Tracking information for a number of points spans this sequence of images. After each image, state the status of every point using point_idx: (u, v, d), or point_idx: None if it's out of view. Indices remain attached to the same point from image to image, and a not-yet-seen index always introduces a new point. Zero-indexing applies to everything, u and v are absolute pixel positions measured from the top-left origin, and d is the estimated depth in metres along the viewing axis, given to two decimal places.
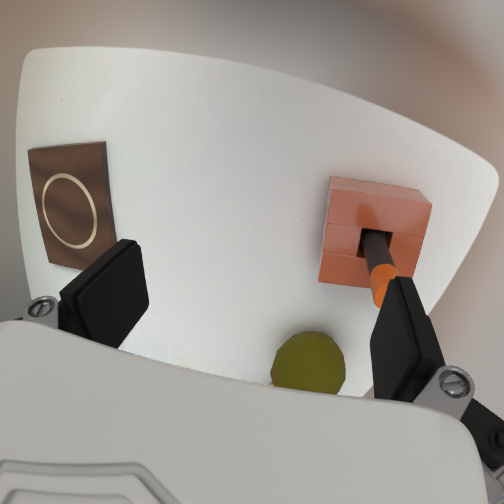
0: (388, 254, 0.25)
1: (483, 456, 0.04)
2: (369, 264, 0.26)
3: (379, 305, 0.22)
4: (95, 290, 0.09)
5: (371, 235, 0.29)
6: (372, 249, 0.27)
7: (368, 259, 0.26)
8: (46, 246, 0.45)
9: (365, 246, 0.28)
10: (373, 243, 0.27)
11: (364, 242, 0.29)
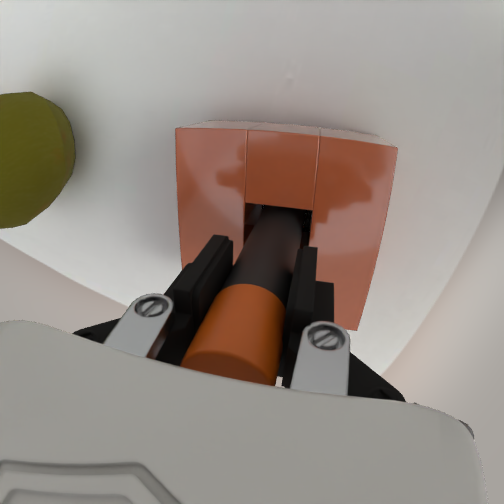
0: None
1: None
2: (264, 262, 0.11)
3: (191, 364, 0.07)
4: (207, 286, 0.09)
5: (298, 233, 0.15)
6: (289, 255, 0.12)
7: (270, 253, 0.11)
8: None
9: (280, 226, 0.14)
10: (294, 247, 0.13)
11: (282, 219, 0.14)
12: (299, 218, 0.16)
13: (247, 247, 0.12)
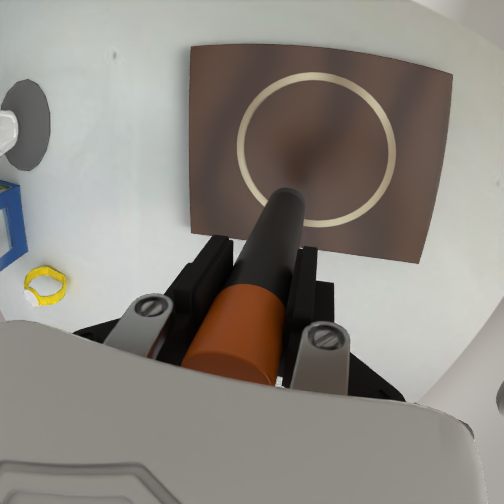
0: None
1: None
2: (264, 263, 0.11)
3: (191, 363, 0.07)
4: (207, 286, 0.09)
5: (298, 233, 0.15)
6: (289, 255, 0.12)
7: (270, 253, 0.11)
8: (231, 50, 0.20)
9: (280, 227, 0.14)
10: (294, 248, 0.13)
11: (282, 219, 0.14)
12: (299, 218, 0.16)
13: (247, 247, 0.12)
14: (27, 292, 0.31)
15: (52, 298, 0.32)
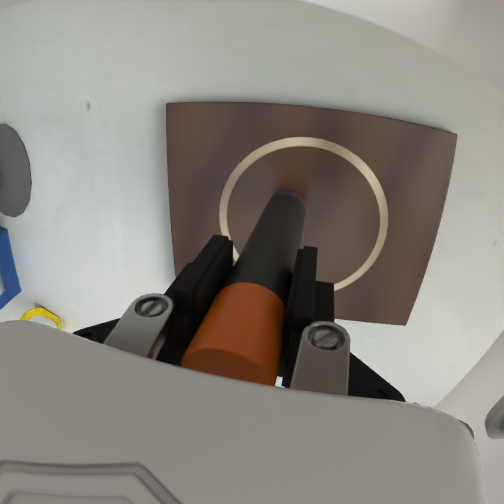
0: None
1: None
2: (264, 262, 0.11)
3: (192, 361, 0.07)
4: (207, 286, 0.09)
5: (298, 234, 0.15)
6: (289, 255, 0.12)
7: (270, 253, 0.11)
8: (209, 109, 0.19)
9: (280, 227, 0.14)
10: (294, 248, 0.13)
11: (282, 220, 0.14)
12: (299, 220, 0.16)
13: (247, 247, 0.12)
14: None
15: None
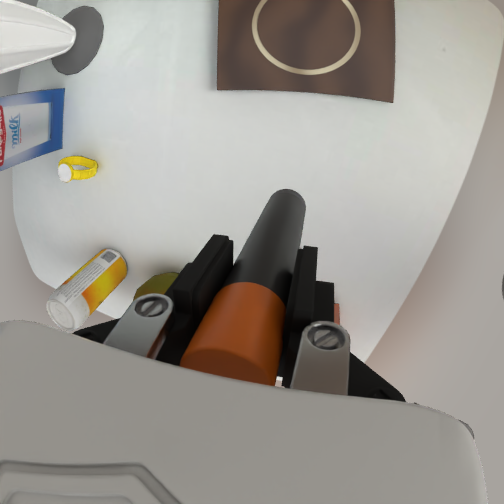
0: None
1: None
2: (264, 261, 0.11)
3: (191, 360, 0.07)
4: (207, 286, 0.09)
5: (298, 233, 0.15)
6: (289, 254, 0.12)
7: (270, 252, 0.11)
8: None
9: (280, 227, 0.14)
10: (294, 248, 0.13)
11: (282, 220, 0.14)
12: (299, 219, 0.16)
13: (247, 247, 0.12)
14: (62, 167, 0.36)
15: (84, 172, 0.38)
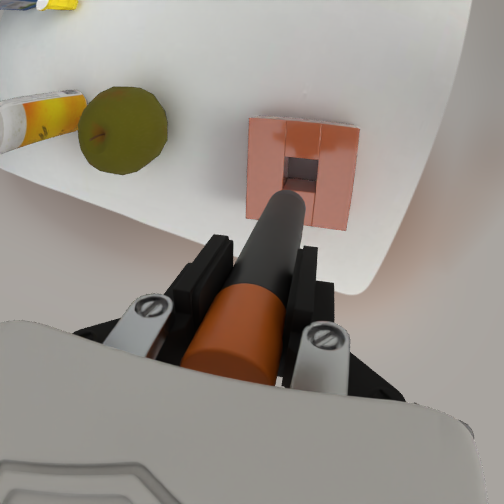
0: None
1: None
2: (264, 263, 0.11)
3: (191, 362, 0.07)
4: (207, 286, 0.09)
5: (298, 234, 0.15)
6: (289, 255, 0.12)
7: (270, 253, 0.11)
8: None
9: (280, 228, 0.14)
10: (294, 249, 0.13)
11: (282, 220, 0.14)
12: (299, 220, 0.16)
13: (247, 248, 0.12)
14: None
15: None
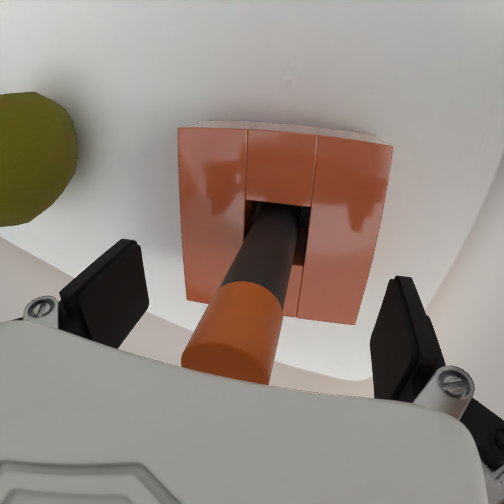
0: None
1: (483, 456, 0.04)
2: (261, 261, 0.11)
3: (192, 355, 0.08)
4: (95, 290, 0.09)
5: (294, 233, 0.15)
6: (284, 254, 0.13)
7: (266, 252, 0.12)
8: None
9: (276, 227, 0.14)
10: (289, 247, 0.14)
11: (279, 220, 0.15)
12: (295, 219, 0.16)
13: (245, 247, 0.13)
14: None
15: None
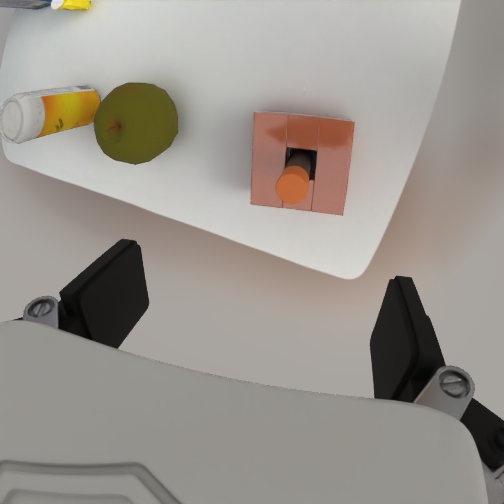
0: None
1: (483, 456, 0.04)
2: (298, 163, 0.27)
3: (281, 180, 0.24)
4: (95, 290, 0.09)
5: (309, 162, 0.31)
6: (307, 165, 0.28)
7: (300, 162, 0.28)
8: None
9: (302, 157, 0.30)
10: (308, 165, 0.29)
11: (302, 156, 0.31)
12: (309, 158, 0.32)
13: (290, 162, 0.28)
14: None
15: (77, 0, 0.26)
